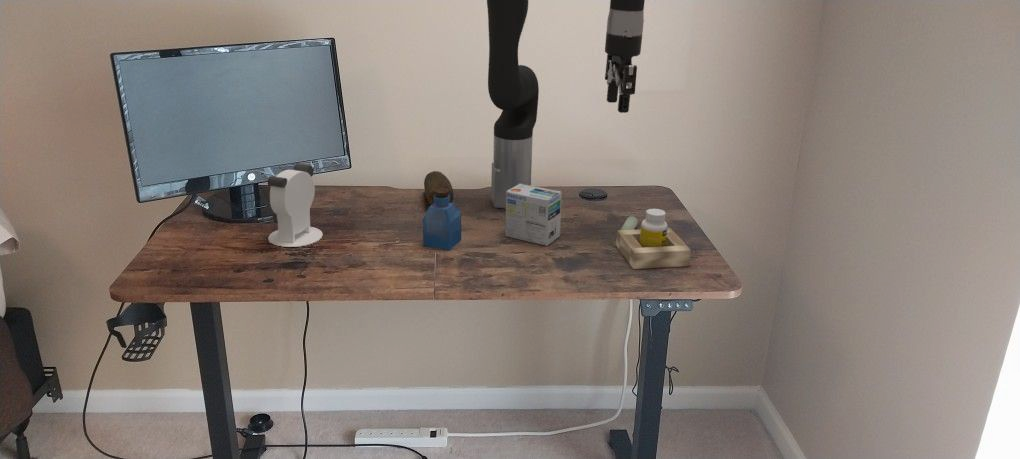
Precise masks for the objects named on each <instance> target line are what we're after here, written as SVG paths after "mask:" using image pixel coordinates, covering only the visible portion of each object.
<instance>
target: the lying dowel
mask: <svg viewBox="0 0 1020 459" xmlns="http://www.w3.org/2000/svg"><path fill="white" fill-rule="evenodd" d="M626 218H627V219H626V221H624V223H623V225H622V227H621V228H620V230H635V229H636V227H637V226H638V222H639V220H638V219H637V217H635V216H633V215H629V217H626Z"/></svg>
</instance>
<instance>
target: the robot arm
mask: <svg viewBox="0 0 1020 459" xmlns="http://www.w3.org/2000/svg"><path fill="white" fill-rule="evenodd" d="M486 6H487V21H488V25H487V26H488V47H489V48H488V49H489V50H488V70H487V71H488V74H487V89H488V95H489V98H490V100H491V102H492V103H493V105H494V106H495V107H496V108H497V109H500V110H501V114H500V115H499V117H498V118H497V120H496V121H495V122H494V126H493V161H492V163H491V187H490V188H491V189H490V191H491V194H490V195H491V196H490V199H491V202H492V205H493V207H494V208H496V209H497V208H501V209H505V210H506V191H508V190H509V189H511V188H513V187H515V186H516V185H518V184H524V185H529V186H532V164H533V163H532V161H533V135H534V133H533V132H534V128H535V125H536V122H537V117H538V106H539V105H538V104H539V95H540V94H539V92H540V91H539V90H540V87H539V80H538V78H537V77H538V76H537V74H536V73H535V71H534V70H533V69H532V68H531V67H530V66H526V65H525V64H524V65H522V64H519V46H520V45H519V44H520V40H521V37H522V34H523V30H524V26H525V23H526V19H527V15H528V11H529V0H486ZM608 10H609V12H608V15H607V16H608V17H607V22H606V34H605V46H604V53H606V64H605V74H604V80H605V81H606V84H607V94H606V102H608V103H618V104H617V111H618V112H619V113H621V114H622V113H625V114H626V113H628V112H629V111H630V110H629V109H630V101H631V100H630V99H631V96H632V95H635V93H636V83H637V74H638V73H637V71H638V66H637V65H636V64H635V65H634V64H633V62H632V61H633V60H632V58H634V57H638V56H640V55H641V51H642V42H643V41H642V40H643V31H644V22H645V20H644V17H645V16H644V12H645V11H644V10H645V0H610V2H609V9H608ZM618 93H619V94H618Z"/></svg>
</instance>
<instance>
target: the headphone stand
mask: <svg viewBox="0 0 1020 459" xmlns="http://www.w3.org/2000/svg"><path fill="white" fill-rule="evenodd" d="M314 172H315V170H314V167H313V166H312V165H308V164H302V163H301V164H300V163H295V164H294V166H293V169H286V170H283V171H281V172H279V173H278V174H277V175H276V176H274V175H270V176H269V177H267V186H269V187H270V189H269V190H270V191H269V204H270V207H271V210H272V212H274V214H273V222H274V223H275V224H277V229H276V230H274V231H273V232H271V233H270V234H269V235H268V243H269V244H271V243H272V244H274V245H277V246H282V247H281V248H283V247H299V248H303V247H302V246H305V247H308V246H307V245H309V246H311V245H310V244H312V245H314V244H313V243H315V242H317V241H318V242H320V241H321V240H322V239H321V238H323V237H322V236H323V232H322V230H320V229H319V228H317V227H313V226H311V213H310V212H311V210H310V208H311V206H312V205H313V203H314V198H315V194H316V186H315V183H314V179H313V176H314ZM320 239H321V240H320ZM319 240H320V241H319ZM318 242H317V243H318ZM272 244H271V245H272ZM315 244H316V243H315ZM274 245H273V246H274ZM277 246H276V247H277Z"/></svg>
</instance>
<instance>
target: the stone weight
mask: <svg viewBox="0 0 1020 459" xmlns="http://www.w3.org/2000/svg"><path fill="white" fill-rule="evenodd" d="M423 186H424V187H423V188H424V192H425V197H426V199H427V202H428V203H429V205H430V206H431V205H433V204H434V203H435V201H434V195H435V192H434V190H435V189H437V188H447V189H449V195H450V201H449V203H453V200H454V189H453V186H452V183H451V182H450V179H449V178H448V177H447V176H446V175H445V174H444V173H443V172H442V171H438V170H435V171H434V170H433V171H431V172H429V173H427V174H426V175H425V177H424V180H423Z"/></svg>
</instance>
